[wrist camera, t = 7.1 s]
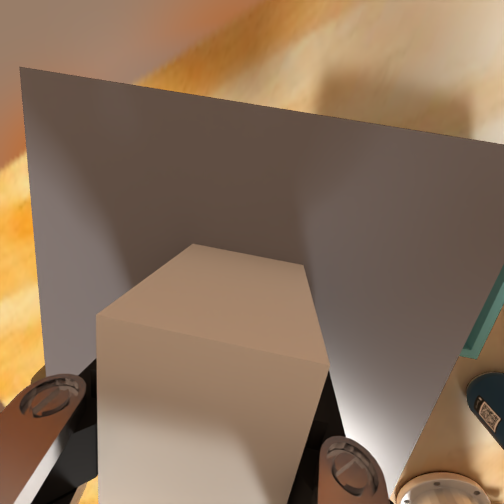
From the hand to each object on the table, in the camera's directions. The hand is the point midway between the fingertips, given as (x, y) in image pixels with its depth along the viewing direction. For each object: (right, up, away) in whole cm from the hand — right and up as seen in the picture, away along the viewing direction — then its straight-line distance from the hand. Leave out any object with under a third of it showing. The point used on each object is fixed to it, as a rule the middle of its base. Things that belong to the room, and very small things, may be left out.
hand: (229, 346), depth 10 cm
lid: (0, +1, +3) cm, 3 cm away
